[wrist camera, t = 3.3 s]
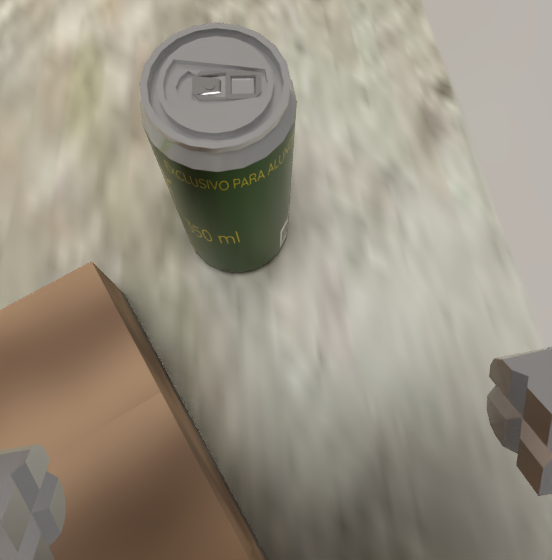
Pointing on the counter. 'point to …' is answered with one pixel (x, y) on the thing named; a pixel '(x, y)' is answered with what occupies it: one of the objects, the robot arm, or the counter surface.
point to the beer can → (223, 139)
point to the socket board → (112, 430)
